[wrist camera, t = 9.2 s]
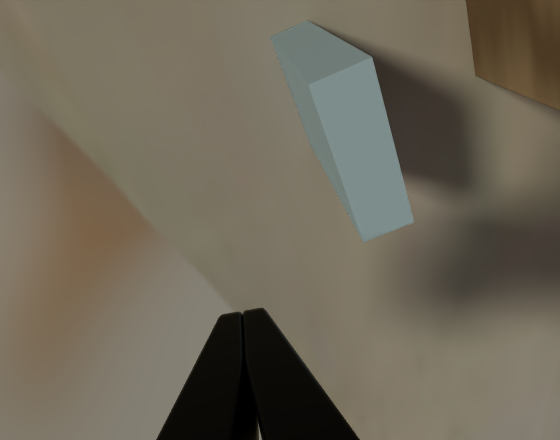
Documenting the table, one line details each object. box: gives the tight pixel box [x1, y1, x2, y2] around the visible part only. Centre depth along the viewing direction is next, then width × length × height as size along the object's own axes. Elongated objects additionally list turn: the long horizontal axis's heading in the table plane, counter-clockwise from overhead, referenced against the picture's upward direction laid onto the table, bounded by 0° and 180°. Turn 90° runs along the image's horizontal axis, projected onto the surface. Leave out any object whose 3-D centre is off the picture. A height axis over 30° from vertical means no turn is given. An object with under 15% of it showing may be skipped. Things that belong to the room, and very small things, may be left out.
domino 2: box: [466, 0, 560, 110], centre depth 14 cm, size 5×2×8 cm, turn 22°
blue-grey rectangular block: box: [270, 20, 414, 242], centre depth 14 cm, size 5×2×8 cm, turn 22°
